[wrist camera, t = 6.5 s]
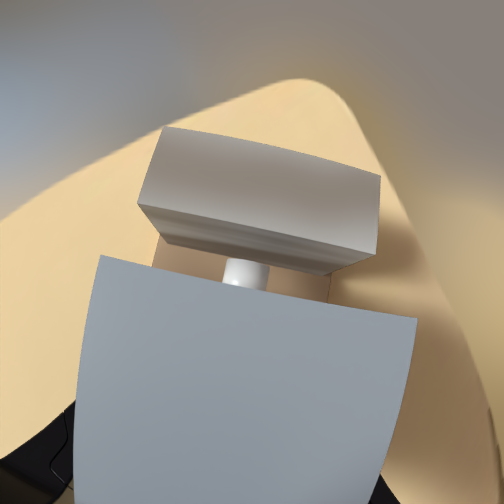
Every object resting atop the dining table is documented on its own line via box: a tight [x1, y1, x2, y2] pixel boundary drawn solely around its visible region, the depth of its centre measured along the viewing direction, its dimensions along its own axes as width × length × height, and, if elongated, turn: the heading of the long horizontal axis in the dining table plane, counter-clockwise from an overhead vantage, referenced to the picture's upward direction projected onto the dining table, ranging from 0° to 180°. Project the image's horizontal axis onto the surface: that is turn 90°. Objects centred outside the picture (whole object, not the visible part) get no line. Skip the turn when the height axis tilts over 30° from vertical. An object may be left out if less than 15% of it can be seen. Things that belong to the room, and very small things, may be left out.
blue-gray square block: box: [73, 255, 418, 504], centre depth 9 cm, size 6×6×10 cm
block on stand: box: [137, 126, 381, 303], centre depth 12 cm, size 16×9×7 cm, turn 169°
